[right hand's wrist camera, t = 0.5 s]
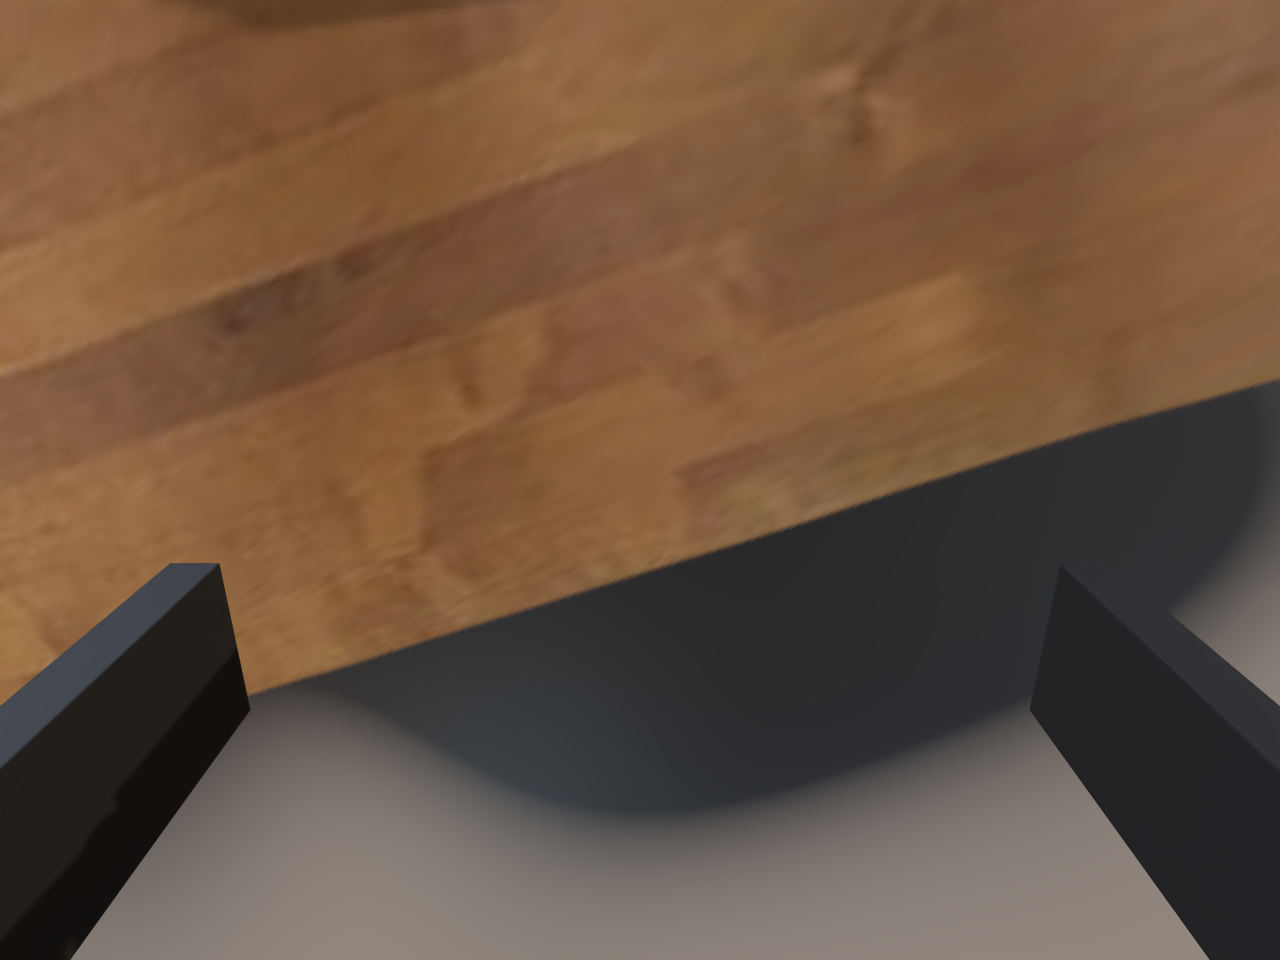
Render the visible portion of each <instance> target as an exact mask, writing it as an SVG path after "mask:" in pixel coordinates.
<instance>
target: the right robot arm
mask: <svg viewBox="0 0 1280 960" xmlns="http://www.w3.org/2000/svg"><path fill="white" fill-rule="evenodd" d="M249 711H250V706H249V701H248V697H247V692H246V687H245V683H244V678H243V673H242V668H241V664H240V659H239V654H238V649H237V645H236V640H235V635H234V630H233V626H232V621H231V616H230V612H229V607H228V602H227V597H226V593H225V588H224V583H223V578H222V574H221V569H220V564H219V563H170V564H169V565H168V566H167V567H165V568H164V569H163V570H162V571H161V572H159V573H158V574H157V575H156V576H155V577H153V578H152V579H151V580H150V581H149V582H147V583H146V584H145V585H144V586H143V587H142V588H140V589H139V590H138V591H137V592H136V593H134V594H133V595H132V596H131V597H130V598H128V599H127V600H126V601H125V602H124V603H122V604H121V605H120V606H119V607H118V608H116V609H115V610H114V611H113V612H112V613H111V614H109V615H108V616H107V617H106V618H105V619H103V620H102V621H101V622H100V623H99V624H97V625H96V626H95V627H94V628H93V629H91V630H90V631H89V632H88V633H87V634H86V635H84V636H83V637H82V638H81V639H80V640H78V641H77V642H76V643H75V644H74V645H72V646H71V647H70V648H69V649H68V650H66V651H65V652H64V653H63V654H62V655H61V656H59V657H58V658H57V659H56V660H55V661H53V662H52V663H51V664H50V665H49V666H47V667H46V668H45V669H44V670H43V671H41V672H40V673H39V674H38V675H37V676H36V677H34V678H33V679H32V680H31V681H30V682H28V683H27V684H26V685H25V686H24V687H22V688H21V689H20V690H19V691H18V692H16V693H15V694H14V695H13V696H12V697H11V698H9V699H8V700H7V701H6V702H5V703H3V704H2V705H1V706H0V960H71V958H72V957H73V955H74V954H75V953H76V951H77V950H78V948H79V947H80V946H81V944H82V943H83V941H84V940H85V939H86V937H87V936H88V934H89V933H90V932H91V930H92V929H93V928H94V926H95V925H96V923H97V922H98V921H99V919H100V918H101V916H102V915H103V914H104V912H105V911H106V910H107V908H108V907H109V905H110V904H111V903H112V901H113V900H114V898H115V897H116V896H117V894H118V893H119V891H120V890H121V889H122V887H123V886H124V884H125V883H126V882H127V880H128V879H129V878H130V876H131V875H132V873H133V872H134V871H135V869H136V868H137V866H138V865H139V864H140V862H141V861H142V860H143V858H144V857H145V855H146V854H147V853H148V851H149V850H150V848H151V847H152V846H153V844H154V843H155V842H156V840H157V839H158V837H159V836H160V835H161V833H162V832H163V830H164V829H165V828H166V826H167V825H168V823H169V822H170V821H171V819H172V818H173V816H174V815H175V814H176V812H177V811H178V810H179V808H180V807H181V805H182V804H183V803H184V801H185V800H186V798H187V797H188V796H189V794H190V793H191V792H192V790H193V789H194V787H195V786H196V784H197V783H198V782H199V780H200V779H201V778H202V776H203V775H204V773H205V772H206V771H207V769H208V768H209V766H210V765H211V764H212V762H213V761H214V760H215V758H216V757H217V755H218V754H219V753H220V751H221V750H222V748H223V747H224V746H225V744H226V743H227V742H228V740H229V739H230V737H231V736H232V735H233V733H234V732H235V730H236V729H237V728H238V726H239V725H240V724H241V722H242V721H243V719H244V718H245V717H246V715H247V714H248V712H249ZM1030 711H1031V712H1032V714H1033V715H1034V716H1035V718H1036V719H1037V721H1038V722H1039V723H1040V725H1041V726H1042V728H1043V729H1044V730H1045V732H1046V733H1047V735H1048V736H1049V737H1050V739H1051V740H1052V741H1053V743H1054V744H1055V746H1056V747H1057V748H1058V750H1059V751H1060V753H1061V754H1062V755H1063V757H1064V758H1065V760H1066V761H1067V762H1068V764H1069V765H1070V767H1071V768H1072V769H1073V771H1074V772H1075V773H1076V775H1077V776H1078V778H1079V779H1080V780H1081V782H1082V783H1083V785H1084V786H1085V787H1086V789H1087V790H1088V792H1089V793H1090V794H1091V796H1092V797H1093V798H1094V800H1095V801H1096V803H1097V804H1098V805H1099V807H1100V808H1101V810H1102V811H1103V812H1104V814H1105V815H1106V816H1107V818H1108V819H1109V821H1110V822H1111V823H1112V825H1113V826H1114V828H1115V829H1116V830H1117V832H1118V833H1119V834H1120V836H1121V837H1122V839H1123V840H1124V842H1125V843H1126V844H1127V846H1128V847H1129V848H1130V850H1131V851H1132V853H1133V854H1134V855H1135V857H1136V858H1137V859H1138V861H1139V862H1140V864H1141V865H1142V866H1143V868H1144V869H1145V871H1146V872H1147V873H1148V875H1149V876H1150V878H1151V879H1152V880H1153V882H1154V883H1155V885H1156V886H1157V887H1158V889H1159V890H1160V891H1161V893H1162V894H1163V896H1164V897H1165V898H1166V900H1167V901H1168V903H1169V904H1170V905H1171V907H1172V908H1173V909H1174V911H1175V912H1176V914H1177V915H1178V916H1179V918H1180V919H1181V921H1182V922H1183V923H1184V925H1185V926H1186V928H1187V929H1188V930H1189V932H1190V933H1191V935H1192V936H1193V937H1194V939H1195V940H1196V941H1197V943H1198V944H1199V946H1200V947H1201V948H1202V950H1203V951H1204V952H1205V954H1206V955H1207V957H1208V958H1209V959H1210V960H1280V706H1279V705H1278V704H1277V703H1275V702H1274V701H1273V700H1272V699H1271V698H1269V697H1268V696H1267V695H1266V694H1265V693H1264V692H1262V691H1261V690H1260V689H1259V688H1258V687H1256V686H1255V685H1254V684H1253V683H1252V682H1250V681H1249V680H1248V679H1247V678H1246V677H1244V676H1243V675H1242V674H1241V673H1240V672H1239V671H1237V670H1236V669H1235V668H1234V667H1233V666H1231V665H1230V664H1229V663H1228V662H1227V661H1225V660H1224V659H1223V658H1222V657H1221V656H1219V655H1218V654H1217V653H1216V652H1215V651H1213V650H1212V649H1211V648H1210V647H1209V646H1208V645H1206V644H1205V643H1204V642H1203V641H1202V640H1200V639H1199V638H1198V637H1197V636H1196V635H1194V634H1193V633H1192V632H1191V631H1190V630H1188V629H1187V628H1186V627H1185V626H1184V625H1182V624H1181V623H1180V622H1179V621H1178V620H1177V619H1175V618H1174V617H1173V616H1172V615H1171V614H1169V613H1168V612H1167V611H1166V610H1165V609H1163V608H1162V607H1161V606H1160V605H1159V604H1157V603H1156V602H1155V601H1154V600H1153V599H1152V598H1150V597H1149V596H1148V595H1147V594H1146V593H1144V592H1143V591H1142V590H1141V589H1140V588H1138V587H1137V586H1136V585H1135V584H1134V583H1133V582H1131V581H1130V580H1129V579H1128V578H1127V577H1125V576H1124V575H1123V574H1122V573H1121V572H1119V571H1118V570H1117V569H1116V568H1115V567H1113V566H1112V565H1111V564H1110V563H1061V564H1060V569H1059V574H1058V578H1057V583H1056V588H1055V593H1054V597H1053V602H1052V607H1051V612H1050V616H1049V621H1048V626H1047V630H1046V635H1045V640H1044V645H1043V649H1042V654H1041V659H1040V664H1039V668H1038V673H1037V678H1036V683H1035V687H1034V692H1033V697H1032V702H1031V706H1030Z"/></svg>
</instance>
